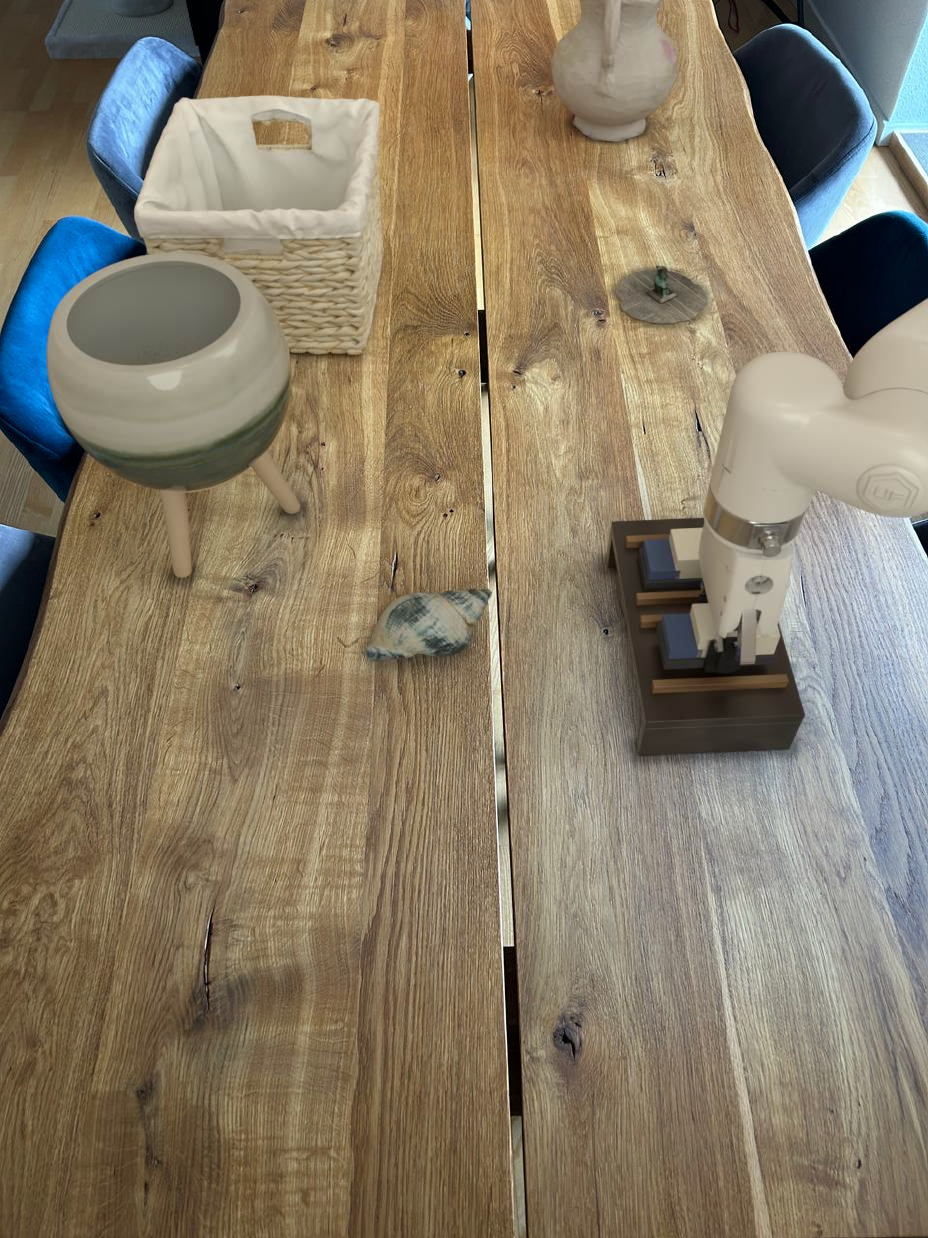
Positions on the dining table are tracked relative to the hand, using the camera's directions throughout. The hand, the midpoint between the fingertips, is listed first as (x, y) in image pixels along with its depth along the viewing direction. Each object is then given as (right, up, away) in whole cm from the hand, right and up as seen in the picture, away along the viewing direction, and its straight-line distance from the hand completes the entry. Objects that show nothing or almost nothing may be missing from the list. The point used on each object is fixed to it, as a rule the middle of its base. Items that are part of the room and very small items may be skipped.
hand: (716, 644), depth 92 cm
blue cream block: (0, 0, 0) cm, 0 cm away
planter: (-50, +13, +21) cm, 56 cm away
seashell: (-26, 0, +10) cm, 28 cm away
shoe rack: (0, -1, +9) cm, 9 cm away
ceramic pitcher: (+1, +82, +73) cm, 109 cm away
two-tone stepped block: (-1, +7, +7) cm, 10 cm away
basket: (-46, +45, +45) cm, 79 cm away
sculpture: (+4, +46, +45) cm, 64 cm away
